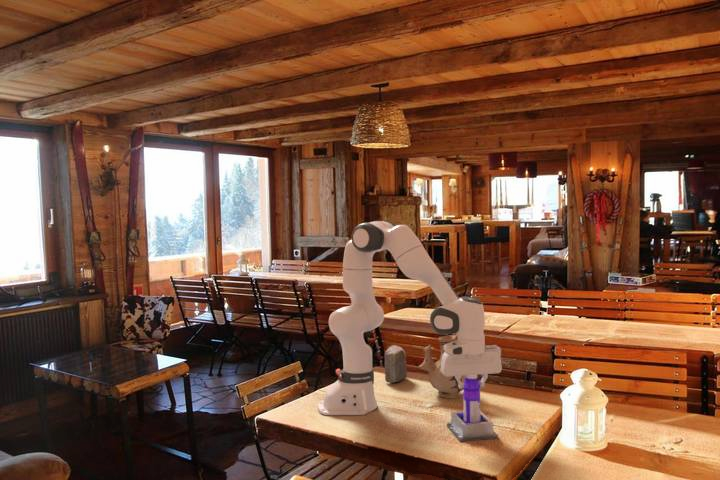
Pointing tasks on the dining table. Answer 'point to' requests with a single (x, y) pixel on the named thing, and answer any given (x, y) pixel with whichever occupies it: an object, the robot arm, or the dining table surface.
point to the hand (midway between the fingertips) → (471, 387)
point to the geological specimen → (395, 364)
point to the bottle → (471, 399)
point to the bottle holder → (471, 428)
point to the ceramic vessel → (437, 379)
